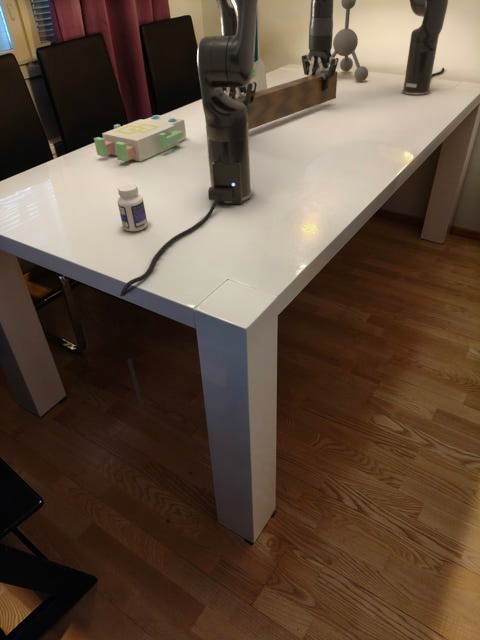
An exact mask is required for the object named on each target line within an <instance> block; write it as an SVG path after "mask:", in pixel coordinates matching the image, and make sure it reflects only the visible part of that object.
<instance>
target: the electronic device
mask: <svg viewBox="0 0 480 640" xmlns="http://www.w3.org/2000/svg"><path fill="white" fill-rule="evenodd" d="M260 49H261V48H260V7H259V6H257V15H256V33H255V52H254V66H253V73H252V77H251V80H250V81H251V82H252V83H253V82H256V84H257V86H256V91H255V92H258V91H261V90H264V89H268V84H267V83H268V82H267V75H266V74H267V73H266V66H265V62H264V61H263V60H262V59H261V56H260V52H261V50H260ZM241 94H244V92H243V93H241ZM235 98H238V97H237V94H236V96H235Z"/></svg>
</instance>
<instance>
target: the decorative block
mask: <svg viewBox="0 0 480 640" xmlns="http://www.w3.org/2000/svg"><path fill="white" fill-rule="evenodd" d="M186 133H187V132H186V124H185V119H183V118H177V117H170V116H166V115H160V114H155V115H152V116H151V117H148V118H145V119H141V118H140V119H137V120H134V121H132V122H129V123H127V124H123V125H122V126H121V124H119V123H116V124H113V129H110V130H108V131H105V132H102V133H101V135H102V137H100V136H97V137H93V142H94V145H95V150H96V155H97V156H99V157H107V156H109V155H111V156H116V158H117V160H118V161H120V162H128V161H130V160H132V161H137V162H143V161H145V160H147V159H149V158H152V157H155V156H156V155H158V154H161V153H163V152H165V151H167V150H170V149H172V148H175V147H176V146H178V143H180V142H182V141H185V140H186V139H187V134H186Z"/></svg>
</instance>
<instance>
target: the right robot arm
mask: <svg viewBox="0 0 480 640" xmlns="http://www.w3.org/2000/svg"><path fill="white" fill-rule="evenodd" d="M334 1H335V0H310V14H309V16H310V17H309V24H308V50H309V51H308V54H304V55H302V56H301V57H300V58H301V63H302V68H303V75H304V76H306V77H307V76H310V75H313V74H316V71H317V69H318V68H320V72H321V73H322V78H323V80H322V91H323V92H324V91H327V89H328V83H329V78H331V77H334V75H335V71H336V70H337V67H338V65H339V64H338V63H339V60H340V59H339V58H338V57H332V51H331V50H332V49H333V48H332V47H333V37H334V36H333V33H334ZM409 5H410V8H411V11H412V13H413V14H414V15H415V16H417V17H422V18H423V19H422V22H421V25H420V26H419V27H418V28H415V29H413V30H412V31H411V35H410V41H409V47H408V54H407V61H406V69H405V75H404V82H403V89H402V93H403V94H406V95H410V96H423V95H427V94H429V93H430V87H431V83H432V78H433V77H435V76H437V75H442V74H443V73H444V72H445V68H444V67H442V68H441V70H440V71H438V72H434V73H433V71H434V66H435V59H436V53H437V49H438V42H439V36H440V34H441V32H442V30H443V27H444V23H445V18H446V14H447V9H448V5H449V0H409ZM329 61H330V63H329ZM324 68H325V69H324Z"/></svg>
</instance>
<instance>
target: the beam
mask: <svg viewBox="0 0 480 640" xmlns="http://www.w3.org/2000/svg"><path fill="white" fill-rule="evenodd" d="M338 74H339V73H338V71H335V75H334V77H331V78H329V83H328V89H327V91H324V92H323V91H322V80H323V78H322V73H321V72H320V73H317V74H313V75H310V76H307V75H306V76H304V77H301V78H297V79H293V80H290V81H287V82H285V83H281V84H278V85H274V86H272V87H267V89H264V90H261V91H258V92H255V97H254V102H253V103H251V104H249V105H248V114H249V115H248V131H250V130H252V129H255V128H258V127H260V126H263V125H266V124H269V123H272V122H274V121H277V120H280V119H283V118H285V117H288V116H290V115H293V114H297V113H299V112H302V111H304V110H307V109H310V108H313V107H316V106H319V105H321V104H323V103H326V102H329V101H332V100H334V99H336V98H337V87H338ZM243 99H244V97H243ZM234 100H236V101H239V102H240V100H239V98H237V97H235V99H234ZM244 101H245V100H244Z"/></svg>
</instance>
